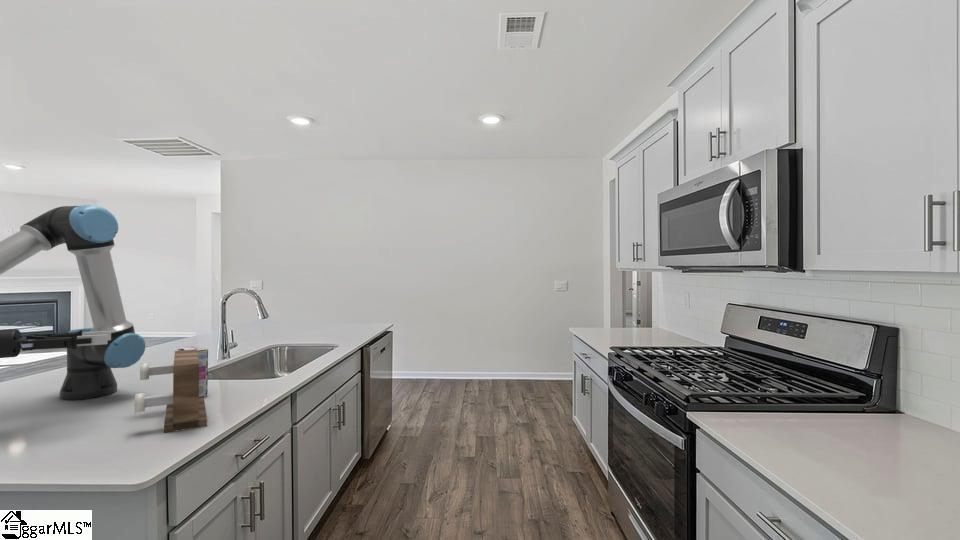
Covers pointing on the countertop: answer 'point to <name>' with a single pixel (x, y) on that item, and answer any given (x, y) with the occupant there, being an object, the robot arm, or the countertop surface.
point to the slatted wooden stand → (185, 394)
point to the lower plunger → (151, 401)
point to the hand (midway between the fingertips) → (108, 337)
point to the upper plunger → (154, 370)
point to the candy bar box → (201, 369)
